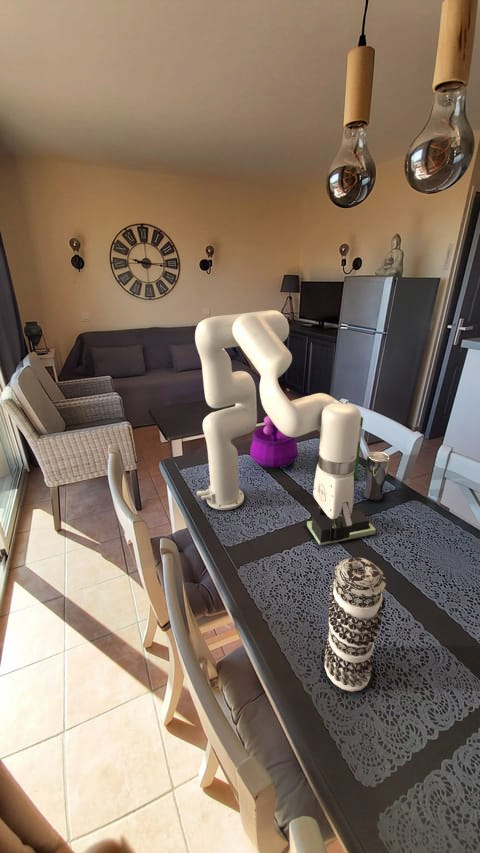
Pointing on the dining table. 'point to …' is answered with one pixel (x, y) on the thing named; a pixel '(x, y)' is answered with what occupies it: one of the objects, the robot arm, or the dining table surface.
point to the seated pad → (358, 521)
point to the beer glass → (376, 474)
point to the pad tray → (356, 534)
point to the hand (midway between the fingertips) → (330, 530)
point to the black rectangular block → (325, 527)
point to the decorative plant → (272, 446)
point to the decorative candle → (353, 622)
